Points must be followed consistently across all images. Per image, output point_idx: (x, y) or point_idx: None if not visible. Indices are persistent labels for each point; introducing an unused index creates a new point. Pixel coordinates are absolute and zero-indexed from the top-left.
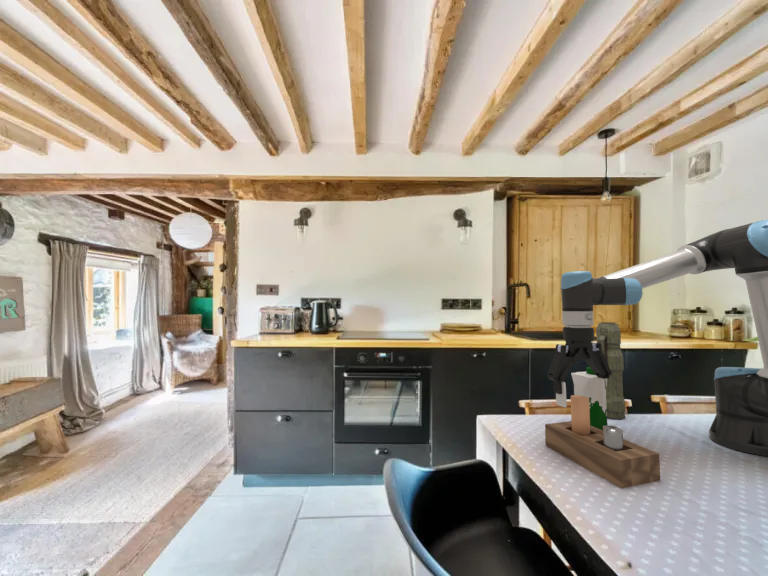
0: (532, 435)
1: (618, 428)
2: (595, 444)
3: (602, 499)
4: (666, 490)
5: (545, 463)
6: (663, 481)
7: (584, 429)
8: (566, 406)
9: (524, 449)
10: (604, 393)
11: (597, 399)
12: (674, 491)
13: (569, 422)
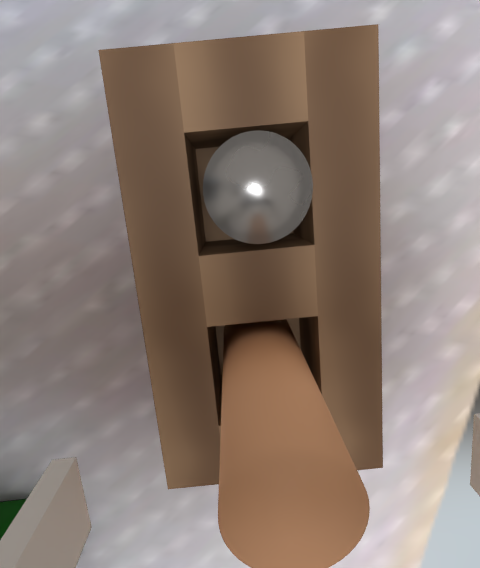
0: None
1: (217, 181)
2: (338, 212)
3: (438, 53)
4: None
5: (433, 304)
6: (102, 110)
7: (282, 344)
8: (478, 417)
9: (426, 410)
10: (20, 523)
11: (82, 513)
12: (128, 43)
13: None
